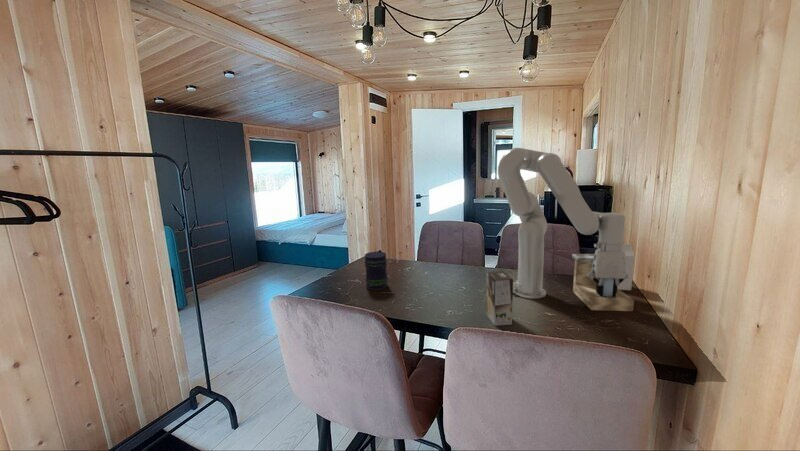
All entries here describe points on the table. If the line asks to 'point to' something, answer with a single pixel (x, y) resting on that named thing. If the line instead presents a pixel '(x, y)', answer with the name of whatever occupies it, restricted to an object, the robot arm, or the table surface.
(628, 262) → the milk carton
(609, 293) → the peg
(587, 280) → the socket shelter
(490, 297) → the coffee box
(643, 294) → the table surface
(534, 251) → the robot arm
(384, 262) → the storage jar
